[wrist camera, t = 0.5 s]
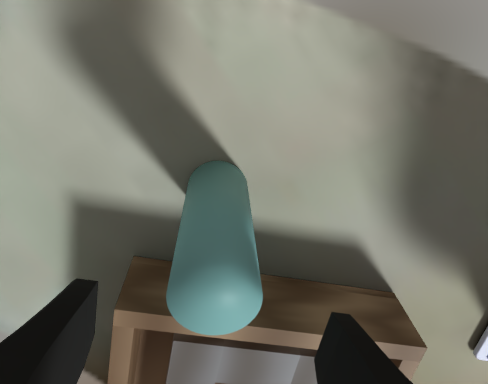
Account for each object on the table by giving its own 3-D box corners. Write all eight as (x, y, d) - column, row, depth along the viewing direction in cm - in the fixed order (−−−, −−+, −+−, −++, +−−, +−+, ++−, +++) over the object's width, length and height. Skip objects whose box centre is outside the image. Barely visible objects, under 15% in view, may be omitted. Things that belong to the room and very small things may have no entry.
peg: (253, 166, 21) (272, 265, 13) (241, 219, 22) (251, 340, 14) (192, 155, 21) (172, 251, 12) (183, 210, 22) (160, 329, 14)
